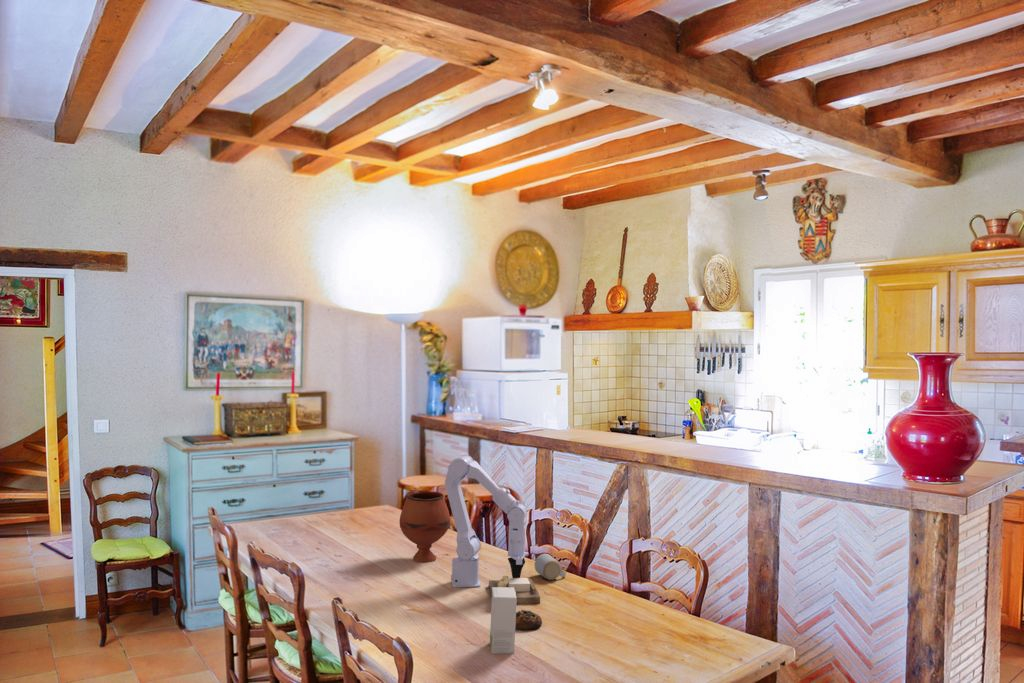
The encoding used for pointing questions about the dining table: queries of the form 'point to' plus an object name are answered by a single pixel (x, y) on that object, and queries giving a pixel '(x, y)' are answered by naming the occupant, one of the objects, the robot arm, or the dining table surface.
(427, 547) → the goblet
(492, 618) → the skincare box
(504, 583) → the brass T-key
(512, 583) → the cream cover
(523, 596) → the board
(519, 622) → the bread roll
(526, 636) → the dining table surface
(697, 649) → the dining table surface
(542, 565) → the ceramic mug
